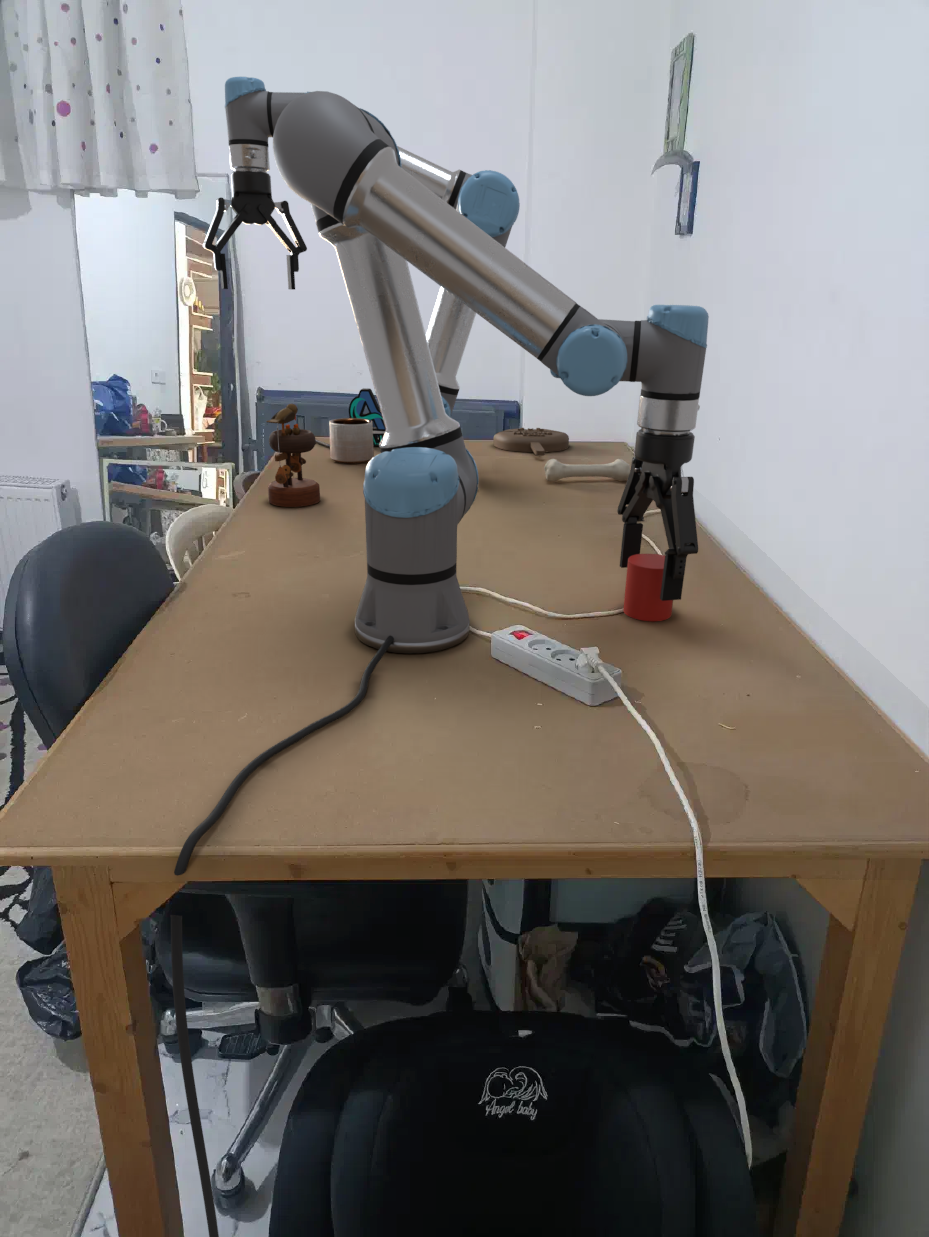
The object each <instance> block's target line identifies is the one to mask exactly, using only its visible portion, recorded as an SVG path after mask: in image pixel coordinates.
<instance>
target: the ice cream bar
mask: <svg viewBox="0 0 929 1237" xmlns="http://www.w3.org/2000/svg"><path fill="white" fill-rule="evenodd" d="M492 441H493V443H492V444H493V447H495V448H497V449H500V450H504V451H511V452H523V453H533V454H534V455H535V456H539V457H541V456H545V453H552V452H553V453H554V452H560V451H564V450H567V449H568V448H569V446H570V436H569V435H568V434H567V433H566V432H563V431H559V430H554V429H547V428H541V427H536V428H533V427H532V428H530V427H528V428H527V429H526V428H525V427H520V428H511V429H505V430H502V431H498V432H496V433H495V434H494V436H493V440H492Z"/></svg>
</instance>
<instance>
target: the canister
mask: <svg viewBox="0 0 929 1237" xmlns="http://www.w3.org/2000/svg"><path fill="white" fill-rule="evenodd" d="M664 561H665V554H660V553H659V554H658V553H640V554H636V555H632V556H630V557H629V558H628V566H627V568H626V575H625V576H626V578H625V589H624V597H623V598H624V599H623V608H622V610H623V611H622V612H623V613H624V614H625V615H626V616H627V617H628V618H629V617H630V618H632V619H634V620H638V621H644V622H661V621H665V620H668V619H669V618H671V616H672V614H673V604H674V600H667V601H662V600H661V599H660V594H661V586H662V577H663V569H664Z"/></svg>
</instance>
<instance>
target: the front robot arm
mask: <svg viewBox="0 0 929 1237" xmlns="http://www.w3.org/2000/svg"><path fill="white" fill-rule="evenodd" d="M307 92H308V93H307ZM307 92H305V93H306V94H303V95H301V96H298V97H297V98H295V99H294V100H292V101H291V102H290V103H289V104H288V105H287V106H286V107H285V109H284V110H283V111H282V113H281V115H280V116H279V118H278V120H277V123H276V126H275V129H274V135H273V138H272V152H273V159H274V162H275V165H276V168H277V170H278V173H279V175H280V176H281V179H282V180H283V182H284V183H285V184H286V186H287V187H288V188H289V189H290V190H291V191H292V192H293V193H294V194H295V195H297V196H298V197H299V198H301V199H302V200H305V201H306V202H308V203H310V204H309V205H310V207H311V210H312V211H311V212H312V215H313V219H314V221H315V225H316V229H317V232H318V235H319V237H320V238H321V239H323V240H324V241H326V243H329V244H331V245H332V246H333V248H334V249H335V252H336V256H337V260H338V263H339V266H340V270H341V274H342V277H343V281H344V284H345V288H346V292H347V296H348V298H349V302H350V305H351V310H352V313H353V317H354V321H355V324H356V328H357V331H358V335H359V338H360V342H361V345H362V349H363V353H364V357H365V360H366V363H367V367H368V369H369V375H370V378H371V381H372V385H373V388H374V393H375V396H376V401H377V403H378V405H379V407H380V410H381V414H382V418H383V421H384V425H385V428H386V430H385V434H384V436H383V438H382V440H381V441H380V443H379V446H378V447H379V451H380V453H378V454H376V455H374V457H373V458H372V459H371V460H370V461H368V463H367V464H366V466H365V471H364V481H363V485H362V488H363V490H362V493H363V497H364V515H365V516H364V517H365V518H364V520H365V545H366V546H365V548H366V579H365V584H364V586H363V589H362V592H361V596H360V600H359V602H358V606H357V609H356V612H355V618H354V633H355V636H356V638H357V639H358V640H359V641H360V642H362V643H363V644H365V645H367V646H368V647H371V648H374V649H377V651H376V653H375V655H373V657H372V659H371V660H370V662H369V663H368V665H367V666H366V668H365V669H364V671H363V674H362V676H361V679H360V684H359V689H358V690H357V693H356V695H355V696H354V697H353V699H352V700H350V702H348V703H347V704H346V705H344V706H343V707H341V708H339V709H337V710H335V711H334V712H332V713H330V714H328V715H326V716H324V717H322V718H319V719H318V720H316V721H314V722H312V723H310V724H308V725H307V726H305V727H303V728H301V729H300V730H298V731H297V732H295V733H292V734H291V735H289V736H288V737H286V738H284V739H282V740H281V741H278V742H277V743H275V744H274V745H273V746H270V747H269V748H267V749H266V750H264V751H263V752H262V753H260V754H259V755H257V756H256V757H255V758H254V759H252V760H251V761H250V762H249V763H248V764H247V765H246V766H244V767H243V769H242V770H241V771H240V772H239V773H238V774H237V775H236V776H235V778H234V779H233V780H232V781H231V783H230V784H229V786H228V787H227V789H226V790H225V791H224V793H223V794H222V796H221V798H220V799H219V800H218V802H217V803H216V805H215V806H214V808H213V809H212V811H210V813H209V814H208V816H206V817H205V819H204V820H203V821H202V822H201V823H199V824H198V825H197V827H195V828H194V829H193V830H192V831H191V833H189V836H188V837H187V838H186V840H185V842H184V843H183V846H182V848H181V849H180V852H179V855H178V857H177V860H176V864H175V868H174V872H173V874H174V876H181V875H183V874H185V873H186V871H187V869H188V866H189V862H190V859H191V857H192V855H193V851H194V849H195V847H196V846H197V844H198V842H199V841H200V839H201V838H202V837H203V836H204V835H205V834H206V833H207V832H208V831H209V830H210V829H211V828H212V827H213V826H214V825H215V824H217V821H219V819H220V818H221V817H222V815H223V814H224V813H225V811H226V809H227V808H228V806H229V805H230V803H231V802H232V800H233V798H234V797H235V795H236V794H237V792H238V791H239V789H240V787H241V786H242V785H243V783H244V782H245V781H246V780H247V778H249V776H251V774H252V773H253V772H255V771H256V770H257V769H258V768H259V767H260V766H262V765H264V763H266V762H267V761H268V760H269V759H270V760H271V758H272V757H274V756H275V755H277V754H279V753H281V752H282V751H284V750H285V749H287V748H289V747H290V746H293V745H295V744H296V743H298V742H300V741H301V740H303V739H304V738H306V737H308V736H309V735H311V734H313V733H315V732H316V731H318V730H320V729H322V728H324V727H326V726H327V725H329V724H332V723H334V722H336V721H337V720H339V719H341V718H343V717H345V716H347V715H348V714H349V713H351V712H352V711H353V710H354V709H356V708H357V706H359V705H360V704H361V703H362V701H363V700H364V698H365V696H366V694H367V690H368V687H369V686H368V685H369V680H370V678H371V675H372V673H373V672H374V670H375V669H376V667H377V666H378V664H379V663H380V661H381V660H382V658H383V657H384V656H385V655H386V653H387V652H390V653H396V654H397V653H398V654H425V653H433V652H439V651H443V650H446V649H449V648H452V647H455V646H457V645H458V644H460V643H462V642H463V641H464V640H466V639H467V637H468V636H469V634H470V616H469V612H468V608H467V606H466V601H465V599H464V596H463V593H462V589H461V586H460V583H459V581H458V577H457V561H458V560H457V559H458V558H457V557H458V556H457V554H458V552H457V551H458V526H459V524H460V522H461V521H462V519H463V518H464V517H465V515H466V514H467V513H468V512H469V511H470V509H471V508H472V505H474V502H475V501H476V498H477V494H478V490H479V469H478V466H477V463H476V461H475V459H474V457H473V454H472V453H471V452H470V451H469V450H468V449H467V448H466V444H465V440H464V434H463V431H462V429H461V425H460V424H461V423H460V422H459V421H457V420H455V419H454V418H452V417H451V418H450V417H449V416H448V415H447V414H446V413H445V409H444V405H443V401H442V397H441V393H440V389H439V385H438V381H437V377H436V373H435V370H434V366H433V362H432V358H431V354H430V350H429V346H428V342H427V338H426V331H425V330H426V329H425V327H424V322H423V318H422V315H421V310H420V306H419V303H418V299H417V294H416V291H415V287H414V283H413V279H412V276H411V271H410V266H409V264H410V265H412V266H413V267H414V268H415V269H416V270H418V271H419V272H420V273H422V274H424V275H425V276H426V277H427V278H428V279H430V280H431V281H433V282H434V283H435V284H436V285H438V286H440V287H442V288H444V289H445V290H446V291H448V292H449V293H450V294H452V295H453V296H454V297H456V298H457V299H458V300H460V301H461V302H462V303H464V304H465V305H466V306H468V307H469V308H470V309H472V310H473V311H474V312H476V315H478V316H479V317H481V318H482V319H484V320H485V321H486V322H488V323H489V324H490V325H491V326H493V327H494V328H496V329H497V330H498V331H500V332H501V333H502V334H504V335H505V336H507V337H508V339H510V340H511V341H513V342H514V343H515V344H517V345H518V346H520V347H521V348H522V349H523V350H525V351H526V352H527V353H528V354H530V355H532V356H533V357H534V358H535V359H537V360H538V361H539V362H540V363H541V364H542V365H544V366H545V367H546V368H547V369H549V372H550V374H551V376H552V377H554V378H556V379H559V380H561V381H562V383H563V385H565V387H566V388H568V389H569V390H570V391H572V392H573V393H576V394H577V395H579V396H583V397H597V396H600V395H601V396H602V395H603V394H606V393H608V392H610V390H612V389H613V388H614V387H615V386H617V385H618V384H619V382H629V383H640V384H641V389H640V395H639V400H638V402H639V403H638V412H637V421H636V425H637V426H638V427H639V428H640V429H639V430H637V432H636V436H635V444H634V456H633V457H632V459H631V464H630V474H629V477H628V479H627V480H626V483H625V486H624V489H623V491H622V495H621V497H620V499H619V500H620V501H619V503H618V507H617V510H616V512H617V515H619V516H621V521H622V523H623V526H622V527H623V528H622V536H621V538H622V539H621V548H620V557H619V567H620V568H621V569H627V566H628V558H629V557H630V556H632V555H636V554H641V547H642V537H643V529H644V524H643V523H642V522H645V518H644V515H645V514H646V512H647V510H648V509H649V507H650V506H651V504H652V503H653V502H654V503H655V506H656V508H657V509H659V510H660V515H661V520H662V524H663V527H664V533H665V536H666V541H667V547H668V548H667V549H666V551H664V556H665V561H664V569H663V577H662V586H661V594H660V599H661V600H662V601H667V600H673V601H679V600H680V601H681V600H682V596H683V589H684V588H683V587H684V579H685V573H686V564H687V558H688V556H689V555H697V554H698V552H699V541H698V532H697V521H696V510H695V501H694V486H695V479H694V477H693V476H682V467H683V465H684V464H688V463H689V462H691V461H692V459H693V452H694V445H695V437H696V436H695V435H694V432H692V431H693V430H695V429H696V427H697V426H696V425H697V418H698V411H700V407H701V405H700V404H699V403H700V402H699V401H700V396H701V388H702V382H703V374H704V367H705V362H706V361H705V360H706V353H707V348H708V344H707V342H708V331H709V330H708V329H709V318H710V316H709V313H708V311H707V309H706V308H704V307H703V306H700V305H690V304H689V305H688V304H687V305H686V304H653V305H651V306H650V308H649V310H648V314H647V316H646V319H641V320H620V319H619V320H618V319H602V318H597V317H596V316H595V315H594V314H592V313H591V312H590V311H589V310H587V309H586V308H584V307H583V306H581V305H580V304H578V303H577V302H576V301H575V300H573V298H571V297H570V296H569V295H567V294H566V293H564V292H563V291H562V290H561V289H559V288H558V287H557V286H556V285H554V284H553V283H552V282H550V281H549V280H548V279H547V278H545V277H544V276H543V275H541V274H540V273H539V272H537V271H536V270H535V269H534V268H532V267H531V266H529V265H528V264H527V263H526V262H524V261H523V260H522V259H520V258H519V257H518V256H517V255H515V254H514V253H513V252H512V251H510V250H509V249H508V248H506V247H503V246H502V245H501V244H500V243H498V242H497V241H496V240H494V239H493V238H492V237H491V236H489V235H488V234H487V233H485V232H484V231H483V230H481V229H480V228H479V227H478V226H476V225H475V224H474V223H472V222H471V221H470V220H468V219H467V218H466V217H465V216H463V215H462V214H461V213H459V212H458V211H457V210H455V209H454V208H453V207H452V206H450V205H449V204H448V203H446V202H445V201H444V200H442V199H441V198H440V197H439V196H437V195H436V194H435V193H433V192H432V191H431V190H430V189H428V188H427V187H426V186H424V185H423V184H422V183H420V182H419V181H418V180H417V179H415V178H414V177H413V176H411V175H410V174H409V173H407V172H406V171H405V170H404V169H402V164H401V157H400V153H399V150H398V147H397V146H398V144H397V142H396V140H395V138H394V137H393V135H392V133H391V131H390V130H389V129H388V128H387V126H386V125H385V124H384V123H383V122H382V120H380V118H378V117H377V116H375V115H374V114H373V113H371V112H369V111H368V110H366V109H364V108H361V107H359V106H356V105H355V104H353V103H352V102H351V101H350V100H349V99H347V98H345V97H344V96H342V95H339V94H337V93H334V92H331V91H323V90H315V91H307ZM170 953H171V954H170V957H171V958H170V960H171V975H172V976H171V978H172V992H173V995H172V996H173V1006H174V1015H175V1024H176V1025H175V1027H176V1036H177V1043H178V1051H179V1058H180V1064H181V1070H182V1071H181V1072H182V1078H183V1079H182V1080H183V1085H184V1090H185V1097H186V1103H187V1109H188V1115H189V1120H190V1121H189V1122H190V1126H191V1132H192V1133H191V1134H192V1138H193V1143H194V1144H193V1145H194V1150H195V1156H196V1160H197V1161H196V1162H197V1167H198V1174H199V1179H200V1185H201V1192H202V1197H203V1204H204V1209H205V1210H204V1211H205V1216H206V1217H205V1218H206V1223H207V1231H208V1237H220V1235H219V1228H218V1226H219V1225H218V1219H217V1213H216V1206H215V1200H214V1194H213V1186H212V1180H211V1173H210V1169H209V1162H208V1156H207V1155H208V1154H207V1150H206V1143H205V1139H204V1131H203V1126H202V1120H201V1113H200V1108H199V1107H200V1106H199V1102H198V1094H197V1088H196V1082H195V1074H194V1067H193V1060H192V1053H191V1046H190V1038H189V1028H188V1019H187V1018H188V1017H187V1009H186V1008H187V1007H186V994H185V979H184V960H183V958H184V957H183V915H179V914H170Z"/></svg>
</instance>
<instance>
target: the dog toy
mask: <svg viewBox="0 0 929 1237" xmlns="http://www.w3.org/2000/svg"><path fill="white" fill-rule="evenodd" d="M543 469H544V475H545V480H546V481H547V482H559V481H560V480H562V479H567V478H579V477H580V478H583V477H584V478H585V477H586V478H589V477H590V478H591V477H596V478H600V477H601V478H611V479H613V480H616V481H618V482H622V481H627V480H628V477H629V474H630V470H631V464H629V463H628V462H627V461H625V460H624V459H623V458H616V459H615V460H614V461H612V462H609V463H601V464H599V463H598V464H590V463H589V464H587V463H586V464H584V463H583V464H568V463H562V462H560V461H559V460H558V459H556V458H551V459H548V460H547V461H546V462H545V465H544V467H543Z"/></svg>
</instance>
